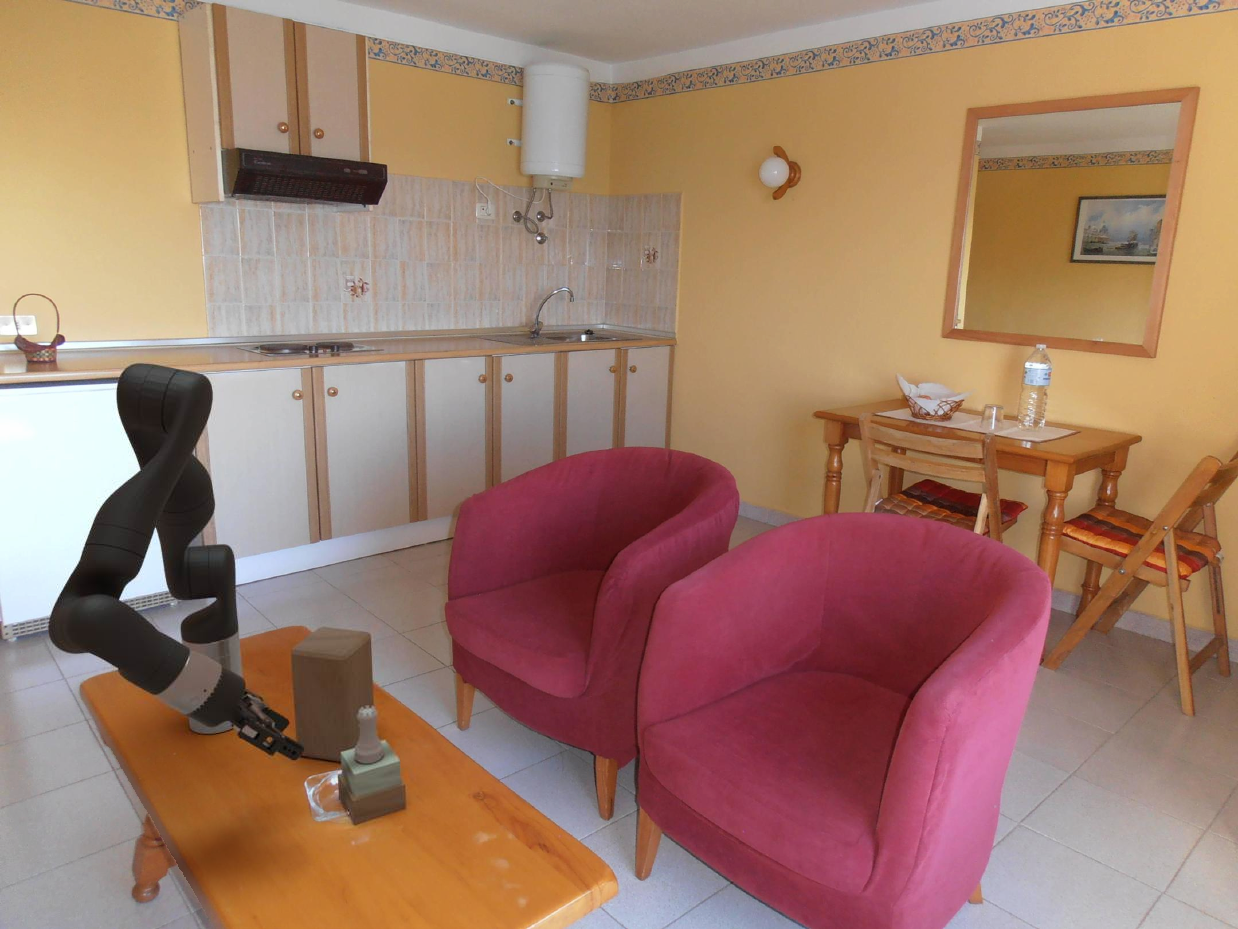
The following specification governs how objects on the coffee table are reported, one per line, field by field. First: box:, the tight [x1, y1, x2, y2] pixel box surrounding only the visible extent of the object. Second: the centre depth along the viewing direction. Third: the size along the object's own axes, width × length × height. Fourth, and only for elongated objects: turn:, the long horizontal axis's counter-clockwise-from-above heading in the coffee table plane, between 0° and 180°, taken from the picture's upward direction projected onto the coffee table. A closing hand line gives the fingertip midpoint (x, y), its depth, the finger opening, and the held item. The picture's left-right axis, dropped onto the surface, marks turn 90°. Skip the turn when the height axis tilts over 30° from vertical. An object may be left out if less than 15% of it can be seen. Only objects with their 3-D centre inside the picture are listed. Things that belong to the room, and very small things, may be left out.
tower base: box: [337, 739, 407, 826], centre depth 133 cm, size 8×8×8 cm
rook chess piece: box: [354, 705, 384, 764], centre depth 131 cm, size 4×4×8 cm
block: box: [290, 626, 375, 763], centre depth 147 cm, size 10×10×20 cm
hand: (292, 740), depth 125 cm, fingers open, 8 cm apart
